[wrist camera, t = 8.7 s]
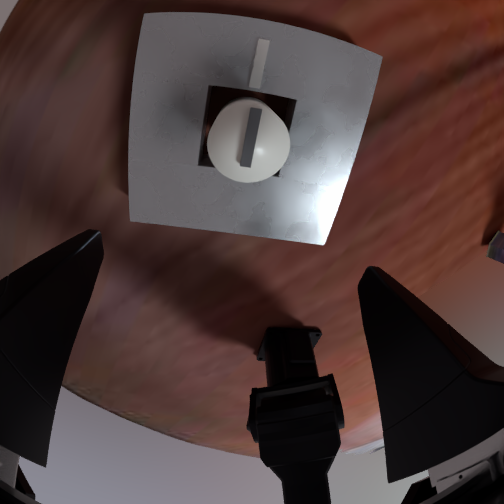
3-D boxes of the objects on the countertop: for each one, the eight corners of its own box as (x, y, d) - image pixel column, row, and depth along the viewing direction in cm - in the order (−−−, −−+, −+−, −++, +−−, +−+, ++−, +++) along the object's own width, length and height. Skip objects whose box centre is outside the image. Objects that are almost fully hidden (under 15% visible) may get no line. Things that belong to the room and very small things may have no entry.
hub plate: (316, 227, 22) (324, 246, 19) (140, 204, 20) (129, 222, 18) (365, 57, 14) (384, 56, 11) (156, 20, 12) (143, 12, 9)
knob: (268, 154, 18) (281, 190, 13) (213, 146, 17) (201, 179, 12) (279, 102, 16) (299, 115, 11) (221, 92, 15) (212, 100, 10)
